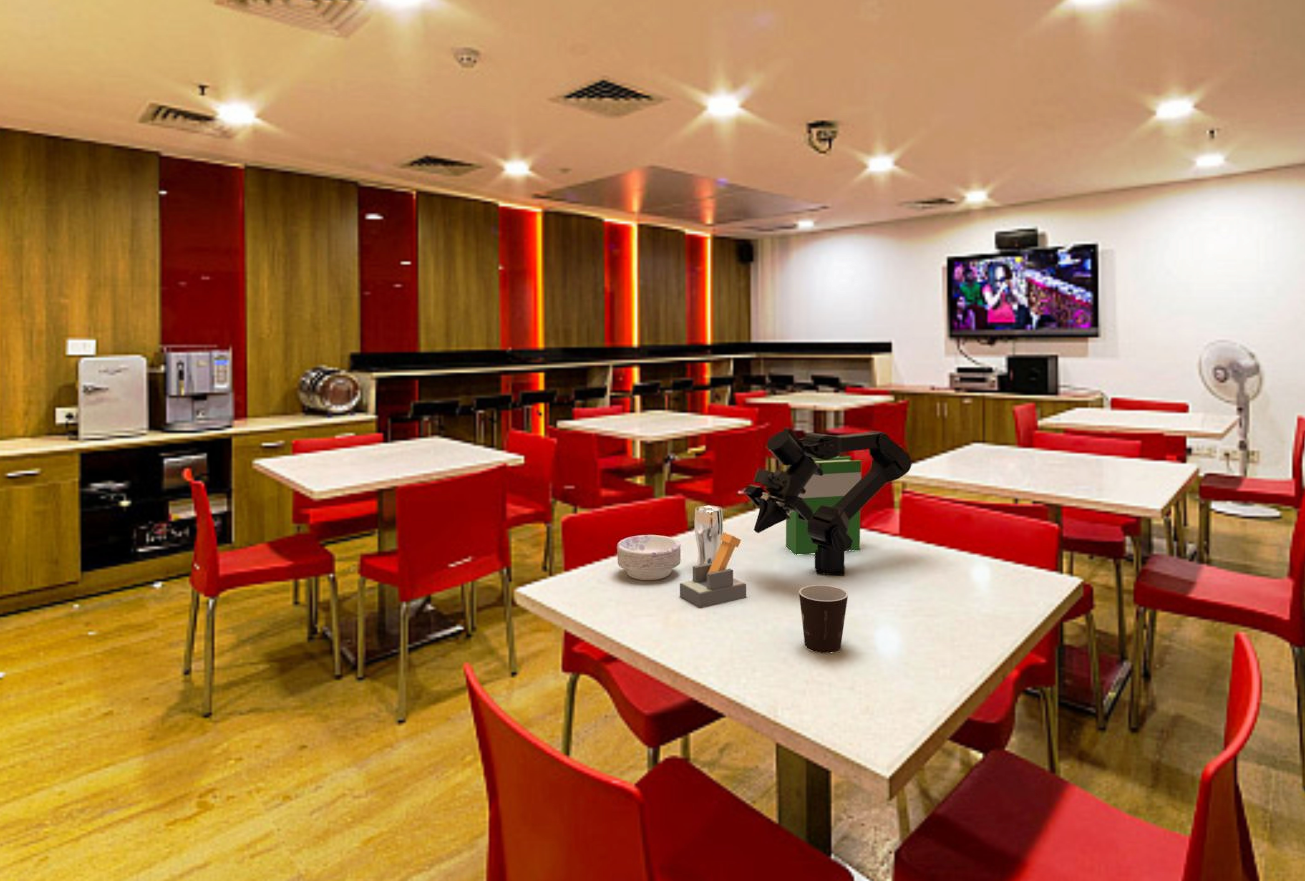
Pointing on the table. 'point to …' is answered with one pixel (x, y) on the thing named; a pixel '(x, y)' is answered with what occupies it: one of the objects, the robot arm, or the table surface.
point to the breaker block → (712, 587)
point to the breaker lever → (724, 552)
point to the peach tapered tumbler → (708, 532)
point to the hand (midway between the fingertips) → (755, 531)
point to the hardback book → (825, 502)
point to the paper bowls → (648, 556)
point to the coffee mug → (823, 617)
